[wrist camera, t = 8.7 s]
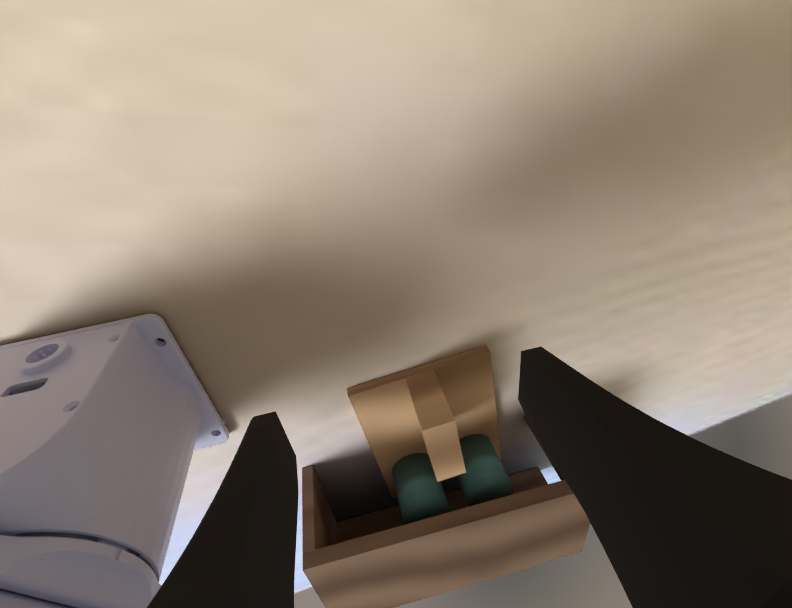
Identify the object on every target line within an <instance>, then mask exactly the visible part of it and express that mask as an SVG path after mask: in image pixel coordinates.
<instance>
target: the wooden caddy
mask: <svg viewBox="0 0 792 608" xmlns="http://www.w3.org/2000/svg"><path fill="white" fill-rule="evenodd" d="M525 421H526V422H527V424H528V426H529V427H530V429H531V431H532V432H533V434H534V436H535V437H536V439H537V441H538V442H539V444H540V446H541V447H542V449H543V451H544V452H545V454H546V456H547V457H548V459H549V461H550V462H551V464H552V466H553V467H554V469H555V471H556V472H557V474H558V476H559V477H560V479H561V481H559V482H556V483H552V484H547V482H546V480H545V478H544V476H543V475H542V473H541V471H540V469H539V468H538V467H536V468H533V469H529V470H526V471H522V472H518V473H515V474H511V475H507V476H508V478H509V480H510V482H511V484H512V486H513V489H514V491H513V494H512V495H509V496H506V497H502V498H498V499H495V500H491V501H488V502H484V503H481V504H477V505H473V506H470V507H469V506H468V504H467V501H466V498H465V495H464V493H463V490H462V488H460V489H456V490H453V491H449V492H445V495H446V498H447V501H448V504H449V507H450V510H451V512H448V513H445V514H441V515H438V516H434V517H431V518H427V519H423V520H420V521H416V522H413V523H409V524H405V525H404V524H403V519H402V515H401V510H400V506H399V505H398V506H395V507H391V508H387V509H384V510H380V511H376V512H373V513H369V514H365V515H362V516H358V517H355V518H351V519H347V520H344V521H340V522H336V520H335V517H334V515H333V513H332V510H331V508H330V506H329V503H328V501H327V499H326V496H325V494H324V492H323V489H322V487H321V485H320V482H319V480H318V478H317V475H316V473H315V471H314V468H313V466H309V467H305V468H302V506H303V571H304V573H305V575H306V576H307V578H308V580H309V581H310V583H311V585H312V586H313V588H314V589H315V591H316V593H317V594H318V596H319V598H320V599H321V601H322V603H323V604H324V606H325V608H394V607H398V606H401V605H404V604H407V603H411V602H414V601H418V600H421V599H424V598H428V597H431V596H434V595H438V594H441V593H444V592H447V591H451V590H454V589H457V588H461V587H464V586H468V585H471V584H474V583H478V582H481V581H485V580H488V579H491V578H495V577H498V576H501V575H505V574H508V573H511V572H515V571H518V570H521V569H525V568H528V567H531V566H534V565H538V564H541V563H545V562H548V561H552V560H555V559H558V558H561V557H565V556H568V555H572V554H575V553H578V552H582V550H583V546H584V542H585V539H586V536H587V532H588V528H589V525H590V521H589V519H588V517H587V515H586V513H585V512H584V510H583V508H582V507H581V505H580V503H579V501H578V500H577V498H576V497H575V495H574V493H573V492H572V490H571V489H570V487H569V486H568V484H567V483H566V481H565V479H564V478H563V476H562V475H561V473H560V472H559V470H558V469H557V467H556V465H555V464H554V462H553V461H552V459H551V458H550V456H549V455H548V453H547V451H546V450H545V448H544V447H543V445H542V444H541V442H540V440H539V439H538V437H537V436H536V434H535V432H534V431H533V429H532V427H531V425H530V423H529V421H528V419H527V417H526V415H525Z"/></svg>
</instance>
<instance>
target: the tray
mask: <svg viewBox="0 0 792 608" xmlns="http://www.w3.org/2000/svg"><path fill="white" fill-rule="evenodd" d="M347 391H348V397H349V399H350V401H351V404H352V406H353V408H354V411H355V413H356V415H357V417H358V420H359V422H360V424H361V427H362V429H363V431H364V433H365V436H366V438H367V440H368V443H369V445H370V447H371V449H372V452H373V454H374V456H375V459H376V461H377V463H378V466H379V468H380V470H381V472H382V475H383V477H384V479H385V482H386V484H387V486H388V488H389V491H390V493H391V495H392V498H394V497H398V501H399V506H400V510H401V515H402V519H403V524H404V525H405V524H409V523H413V522H416V521H420V520H423V519H427V518H431V517H434V516H438V515H441V514H445V513H448V512H451V510H450V507H449V504H448V501H447V498H446V495H445V492H444V489H443V486H442V483H441V482H442V481H445V480H448V479H451V478H455V477H458V479H459V482H460V485H461V487H462V490H463V493H464V495H465V498H466V501H467V504H468V506H469V507H470V506H473V505H477V504H481V503H484V502H488V501H491V500H495V499H498V498H502V497H506V496H509V495H512V494H513V491H514V489H513V486H512V484H511V482H510V480H509V478H508V476H507V474H506V472H505V470H504V467H503V465H502V463H501V462H502V455H501V446H500V438H499V429H498V420H497V411H496V402H495V394H494V385H493V376H492V367H491V359H490V351H489V349H488V348H487V346H486V345H485V346H481V347H478V348H475V349H472V350H469V351H466V352H462V353H459V354H456V355H453V356H450V357H446V358H443V359H440V360H437V361H434V362H430V363H427V364H424V365H421V366H418V367H414V368H411V369H408V370H405V371H402V372H399V373H395V374H392V375H389V376H386V377H383V378H379V379H376V380H373V381H370V382H367V383H363V384H360V385H357V386H354V387H351V388H347Z"/></svg>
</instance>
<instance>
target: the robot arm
mask: <svg viewBox="0 0 792 608" xmlns="http://www.w3.org/2000/svg"><path fill="white" fill-rule="evenodd" d="M157 338H162V339H164V340H165V341H166V342H161V341H159V340H158V339H157ZM518 400H519V402H520V404H521V406H522V408H523V410H524V413H525V415H526V417H527V419H528V421H529V423H530V425H531V427H532V429H533V431H534V432H535V434H536V436H537V437H538V439H539V440H540V442H541V444H542V445H543V447H544V448H545V450H546V451H547V453H548V455H549V456H550V458H551V459H552V461H553V462H554V464H555V465H556V467H557V469H558V470H559V472H560V473H561V475H562V476H563V478H564V479H565V481H566V483H567V484H568V486H569V487H570V489H571V490H572V492H573V493H574V495H575V497H576V498H577V500H578V501H579V503H580V505H581V507H582V508H583V510H584V512H585V513H586V515H587V517H588V519H589V521H590V523H591V525H592V526H593V528H594V530H595V532H596V534H597V536H598V538H599V540H600V542H601V544H602V545H603V548H604V550H605V551H606V554H607V556H608V558H609V560H610V562H611V564H612V565H613V568H614V570H615V572H616V574H617V575H618V578H619V580H620V582H621V584H622V586H623V588H624V590H625V592H626V594H627V597H628V599H629V601H630V603H631V605H632V607H633V608H792V480H791V479H788V478H785V477H783V476H780V475H777V474H774V473H772V472H769V471H767V470H764V469H762V468H759V467H757V466H754V465H752V464H749V463H747V462H745V461H742V460H740V459H738V458H735V457H733V456H731V455H728V454H726V453H724V452H722V451H719V450H717V449H714V448H712V447H710V446H708V445H706V444H704V443H702V442H699V441H697V440H695V439H693V438H691V437H689V436H687V435H685V434H683V433H681V432H679V431H677V430H675V429H673V428H671V427H669V426H667V425H665V424H663V423H662V422H660V421H658V420H656V419H654V418H652V417H650V416H649V415H647V414H645V413H643V412H642V411H640V410H638V409H636V408H635V407H633V406H631V405H629V404H628V403H626V402H624V401H623V400H621V399H619V398H618V397H616V396H614V395H613V394H611V393H610V392H608V391H607V390H605V389H603V388H602V387H600V386H599V385H597V384H596V383H594V382H593V381H591V380H589V379H588V378H586V377H585V376H583V375H582V374H580V373H579V372H578V371H576V370H575V369H573V368H572V367H570V366H569V365H567V364H566V363H564V362H563V361H561V360H560V359H558V358H557V357H556V356H554V355H553V354H551V353H550V352H548V351H547V350H545V349H544V348H542V347H537V348H533V349H529V350H525V351H521V364H520V380H519V396H518ZM215 430H218V431H215ZM228 438H229V431H228V430H227V428H226V426H225V424H224V423H223V421H222V419H221V418H220V416H219V414H218V412H217V411H216V409H215V407H214V406H213V404H212V402H211V400H210V399H209V397H208V395H207V394H206V392H205V390H204V388H203V387H202V385H201V383H200V382H199V380H198V378H197V376H196V375H195V373H194V371H193V370H192V368H191V366H190V364H189V363H188V361H187V359H186V358H185V356H184V354H183V352H182V351H181V349H180V347H179V346H178V344H177V342H176V341H175V339H174V337H173V335H172V334H171V332H170V330H169V329H168V327H167V325H166V323H165V322H164V320H163V319H162V318H161V317H160V316H158V315H156V314H145V315H140V316H136V317H131V318H127V319H122V320H117V321H113V322H108V323H103V324H99V325H94V326H90V327H85V328H80V329H76V330H71V331H67V332H62V333H57V334H53V335H48V336H43V337H39V338H34V339H30V340H25V341H20V342H16V343H11V344H7V345H2V346H0V608H294V570H295V551H296V531H297V511H298V478H297V464H296V455H295V453H294V451H293V449H292V446H291V444H290V442H289V440H288V438H287V435H286V433H285V431H284V429H283V427H282V424H281V422H280V420H279V418H278V416H277V414H276V411H275V412H271V413H267V414H263V415H259V416H255V417H253V418H252V420H251V421H250V424H249V426H248V428H247V431H246V433H245V435H244V437H243V440H242V442H241V444H240V446H239V448H238V451H237V453H236V455H235V457H234V459H233V461H232V463H231V466H230V468H229V470H228V472H227V474H226V476H225V478H224V480H223V482H222V484H221V486H220V488H219V490H218V492H217V494H216V496H215V497H214V499H213V501H212V503H211V505H210V507H209V508H208V510H207V512H206V514H205V516H204V517H203V519H202V521H201V523H200V525H199V526H198V528H197V530H196V532H195V534H194V535H193V537H192V539H191V540H190V542H189V544H188V545H187V547H186V549H185V550H184V552H183V554H182V555H181V557H180V558H179V560H178V562H177V563H176V565H175V566H174V568H173V569H172V571H171V572H170V574H169V576H168V577H167V579H166V580H165V582H164V583H163V585H162V586H161V585H160V584H159V579H160V575H161V572H162V568H163V564H164V560H165V556H166V553H167V549H168V545H169V541H170V537H171V534H172V530H173V526H174V522H175V518H176V515H177V511H178V507H179V503H180V499H181V496H182V492H183V488H184V484H185V480H186V477H187V473H188V469H189V465H190V461H191V458H192V454H193V450H197V449H201V448H205V447H209V446H213V445H217V444H221V443H224V442H226V441H227V440H228Z"/></svg>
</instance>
